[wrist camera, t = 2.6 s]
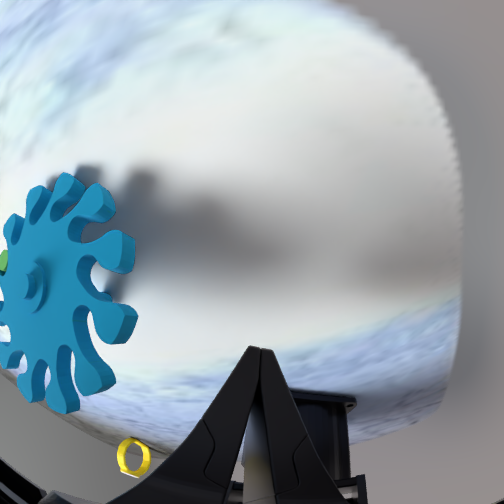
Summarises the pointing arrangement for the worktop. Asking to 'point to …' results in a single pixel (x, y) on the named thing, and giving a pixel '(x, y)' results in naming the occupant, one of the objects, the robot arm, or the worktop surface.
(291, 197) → the worktop surface
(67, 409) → the gear
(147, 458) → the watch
